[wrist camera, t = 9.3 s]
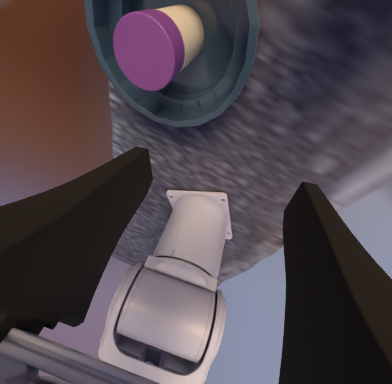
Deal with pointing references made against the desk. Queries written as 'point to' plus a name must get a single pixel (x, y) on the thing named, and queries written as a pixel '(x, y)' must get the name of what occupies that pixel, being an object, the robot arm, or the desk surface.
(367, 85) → the desk surface
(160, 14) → the glue stick
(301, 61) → the desk surface
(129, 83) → the dish
